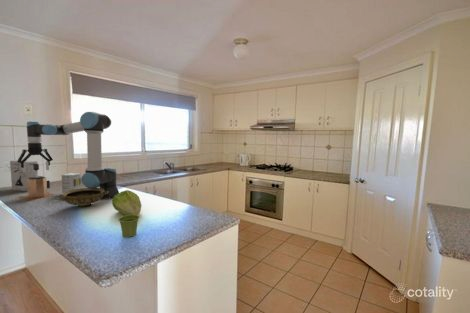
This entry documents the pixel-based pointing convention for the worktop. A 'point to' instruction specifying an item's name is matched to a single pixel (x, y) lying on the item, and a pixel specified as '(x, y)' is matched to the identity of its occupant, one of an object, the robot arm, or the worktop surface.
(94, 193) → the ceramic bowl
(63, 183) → the supplement box
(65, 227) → the worktop surface
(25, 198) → the trivet
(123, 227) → the plant pot
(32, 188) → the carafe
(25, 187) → the cereal box
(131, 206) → the lettuce
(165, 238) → the worktop surface
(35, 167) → the plunger
